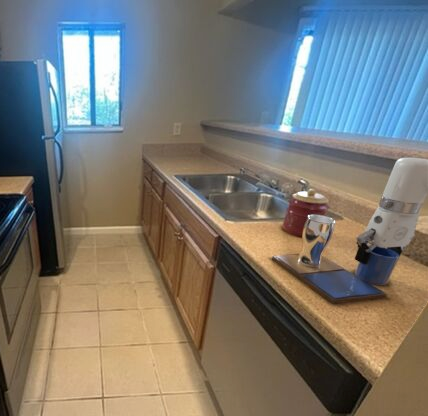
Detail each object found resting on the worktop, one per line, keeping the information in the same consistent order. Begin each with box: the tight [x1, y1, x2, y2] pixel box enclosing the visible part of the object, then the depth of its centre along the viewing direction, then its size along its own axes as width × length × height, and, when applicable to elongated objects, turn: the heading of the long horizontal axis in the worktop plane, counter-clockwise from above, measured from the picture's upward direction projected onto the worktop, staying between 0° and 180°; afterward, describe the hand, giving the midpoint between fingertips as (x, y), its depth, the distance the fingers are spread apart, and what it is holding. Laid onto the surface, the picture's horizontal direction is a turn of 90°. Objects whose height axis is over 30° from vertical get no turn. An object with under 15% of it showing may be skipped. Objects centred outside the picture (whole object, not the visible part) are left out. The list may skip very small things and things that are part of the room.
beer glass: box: [297, 215, 337, 267], centre depth 84 cm, size 7×7×15 cm
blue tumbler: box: [354, 244, 400, 286], centre depth 79 cm, size 7×7×9 cm
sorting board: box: [271, 253, 388, 305], centre depth 81 cm, size 16×22×1 cm
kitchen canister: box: [282, 188, 331, 238], centre depth 107 cm, size 13×13×18 cm
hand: (375, 260), depth 79 cm, fingers open, 9 cm apart
